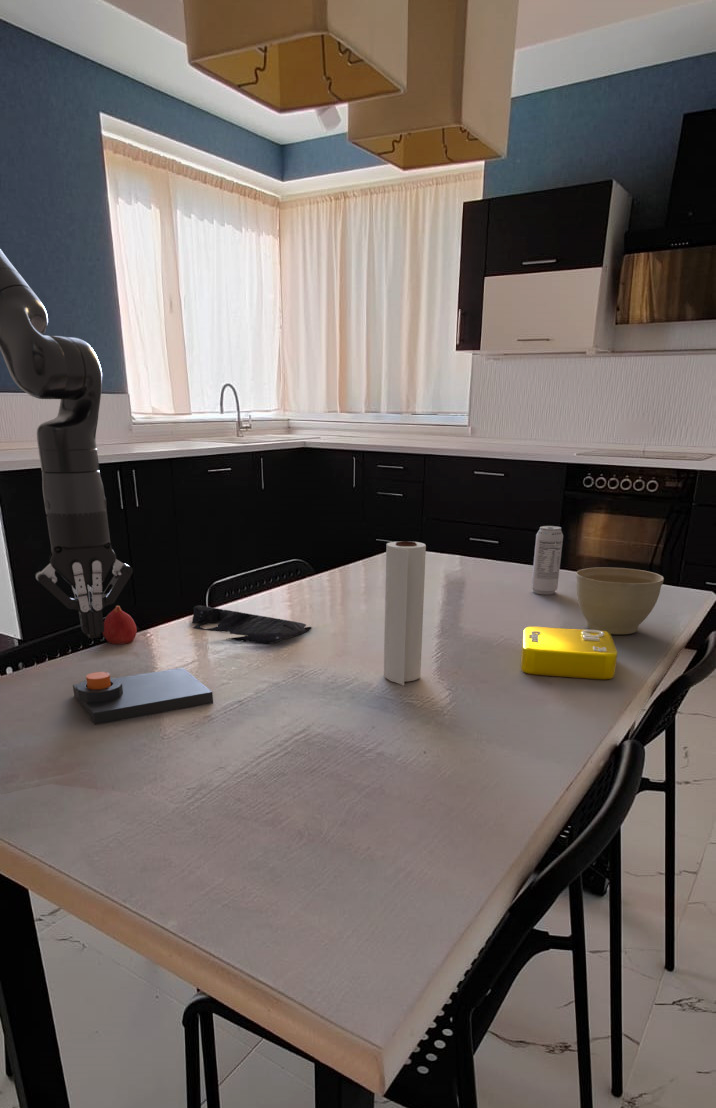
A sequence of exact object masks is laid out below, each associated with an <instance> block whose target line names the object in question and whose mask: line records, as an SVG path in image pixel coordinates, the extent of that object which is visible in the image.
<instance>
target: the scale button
mask: <svg viewBox="0 0 716 1108" xmlns="http://www.w3.org/2000/svg"><path fill="white" fill-rule="evenodd" d="M110 678H111V675H110V673H109V672H107V671H95V672H91V673H88V674H86V676H85V679H86V680H87V687H88V689H104V688H108V687H110V686H111V682H110ZM86 680H85V681H86Z"/></svg>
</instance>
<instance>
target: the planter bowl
mask: <svg viewBox="0 0 716 1108" xmlns="http://www.w3.org/2000/svg"><path fill="white" fill-rule="evenodd" d="M575 579H576V583H575V585H576V586H575V591H576V598H577V603H578V606H579V609H580V611H581V613H582V615H583V617H584V619H585V620H586V627H587V628H588V630H598V631H606V632H608V633H609V634H611V635H630V634H635V633H636V632H637V631H638V629H639V626H640V625H641V624H642V623H644V621H645V620H646V619H647V618H648V616H649V615H650V614H651V612H652V611H653V609H654V608H655V606H656V604H657V602H658V599H659V597H660V594H661V589H662V586H663V584H664V580H665V578H664V576H663V575H661V574H659V573H656V572H652V571H649V570H648V571H647V570H641V569H635V568H625V567H607V566H606V567H605V566H604V567H602V566H601V567H589V568H582V569H578V570H577V571H576V573H575Z"/></svg>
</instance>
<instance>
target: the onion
mask: <svg viewBox="0 0 716 1108" xmlns="http://www.w3.org/2000/svg"><path fill="white" fill-rule="evenodd" d="M103 622H104V632H102V635H103V637H104V639H105V640H106V641H107V642H108V643H109V644H112V645H124V644H129V643H131V642H133V641H134V640H135V638H136V636H137V632H138V629H137V624H136V622H135V620H134V619H133V618H132V616H131V615H130V614H128V613H127V612H125V611H123V610H122V608H121V606H120V605H115V607H114V608H113V609H112V610H111V611H110V612H109V613H108V614H107V615H106V617H105V619H104V620H103Z"/></svg>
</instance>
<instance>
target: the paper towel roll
mask: <svg viewBox="0 0 716 1108" xmlns="http://www.w3.org/2000/svg"><path fill="white" fill-rule="evenodd" d="M385 547H386V552H385V588H384V589H385V593H384V635H383V637H384V638H383V639H384V641H383V642H384V643H383V647H384V648H383V677H384V678H385V679H386V680H388V681H390V682H392V683H396V684H399V685H402V686H403V687H405V682H406V683H407V682H413V681H416V680H419V678H420V677H421V672H422V671H421V670H422V650H423V649H422V647H423V626H424V625H423V624H424V623H423V622H424V599H425V575H426V554H427V553H426V552H427V551H426V550H427V545H426V543H424V542H419V541H410V540H409V541H408V540H407V541H406V540H404V541H403V540H402V541H401V540H400V541H391V542H387V543H386V546H385Z"/></svg>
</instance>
